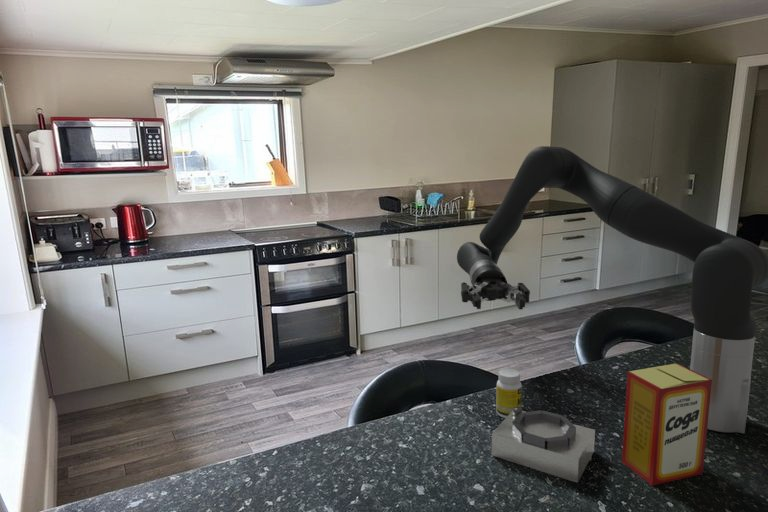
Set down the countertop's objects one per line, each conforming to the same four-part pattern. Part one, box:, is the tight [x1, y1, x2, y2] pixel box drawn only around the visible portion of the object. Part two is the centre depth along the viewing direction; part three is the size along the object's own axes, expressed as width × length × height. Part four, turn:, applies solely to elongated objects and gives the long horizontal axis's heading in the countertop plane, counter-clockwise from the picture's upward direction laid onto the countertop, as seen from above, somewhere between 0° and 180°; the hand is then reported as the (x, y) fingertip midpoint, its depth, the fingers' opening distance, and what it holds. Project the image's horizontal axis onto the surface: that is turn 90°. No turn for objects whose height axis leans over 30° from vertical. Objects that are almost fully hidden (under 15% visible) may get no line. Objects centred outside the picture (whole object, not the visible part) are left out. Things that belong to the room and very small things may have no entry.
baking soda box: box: [621, 363, 712, 487], centre depth 82 cm, size 10×6×16 cm
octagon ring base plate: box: [491, 406, 596, 484], centre depth 88 cm, size 14×10×5 cm
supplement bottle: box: [495, 368, 523, 419], centre depth 101 cm, size 5×5×8 cm
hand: (500, 305), depth 107 cm, fingers open, 8 cm apart
